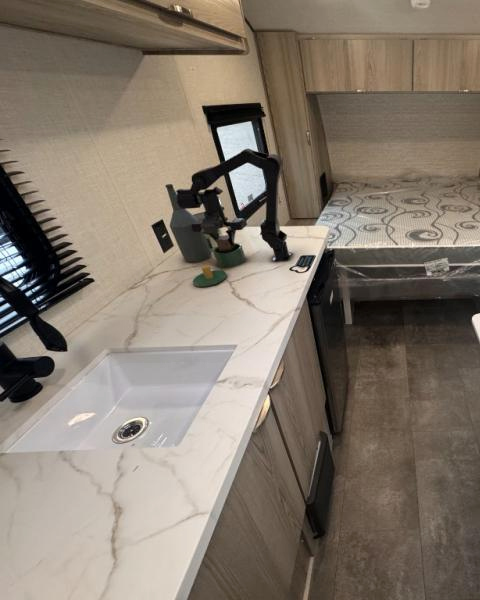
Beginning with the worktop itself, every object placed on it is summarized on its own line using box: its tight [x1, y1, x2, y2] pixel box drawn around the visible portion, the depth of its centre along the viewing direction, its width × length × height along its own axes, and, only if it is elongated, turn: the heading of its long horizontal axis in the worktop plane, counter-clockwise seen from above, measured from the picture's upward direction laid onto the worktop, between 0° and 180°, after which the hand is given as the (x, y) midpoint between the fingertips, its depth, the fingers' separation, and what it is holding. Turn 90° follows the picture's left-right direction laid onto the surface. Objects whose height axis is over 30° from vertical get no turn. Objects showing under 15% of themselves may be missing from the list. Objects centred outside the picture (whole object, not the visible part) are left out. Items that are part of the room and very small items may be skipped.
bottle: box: [165, 183, 212, 264], centre depth 128 cm, size 10×10×30 cm
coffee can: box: [193, 211, 224, 251], centre depth 142 cm, size 10×10×14 cm
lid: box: [192, 264, 227, 287], centre depth 118 cm, size 11×11×6 cm
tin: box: [212, 242, 246, 268], centre depth 131 cm, size 10×10×6 cm
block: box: [216, 234, 236, 251], centre depth 128 cm, size 4×4×4 cm
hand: (226, 245), depth 128 cm, fingers closed on block, 4 cm apart
